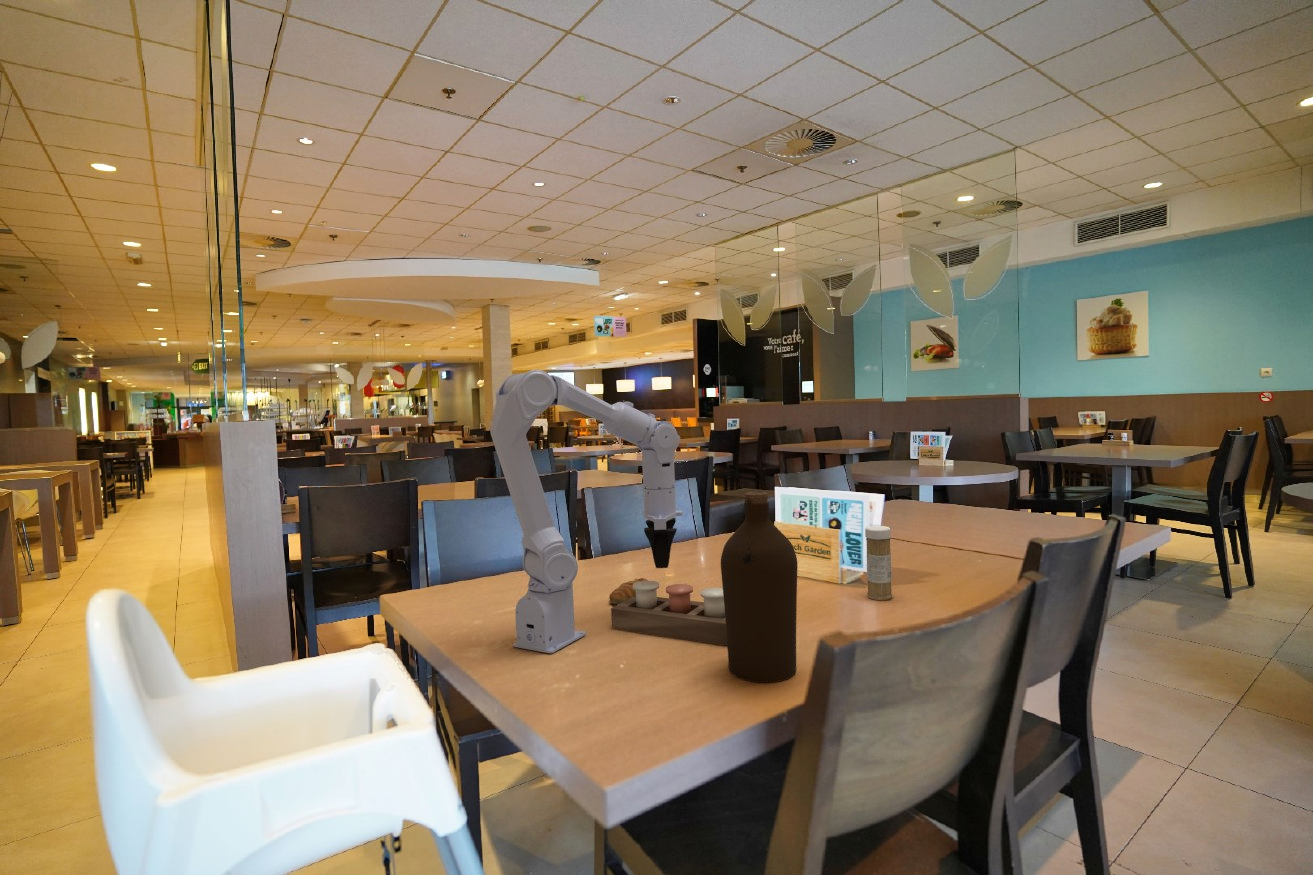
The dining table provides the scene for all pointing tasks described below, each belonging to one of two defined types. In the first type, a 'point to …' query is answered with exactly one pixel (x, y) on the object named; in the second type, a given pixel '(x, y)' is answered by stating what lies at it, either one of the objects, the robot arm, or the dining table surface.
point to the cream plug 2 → (713, 602)
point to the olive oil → (760, 597)
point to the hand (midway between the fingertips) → (662, 562)
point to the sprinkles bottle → (878, 562)
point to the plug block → (669, 622)
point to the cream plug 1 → (646, 594)
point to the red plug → (679, 598)
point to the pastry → (624, 592)
